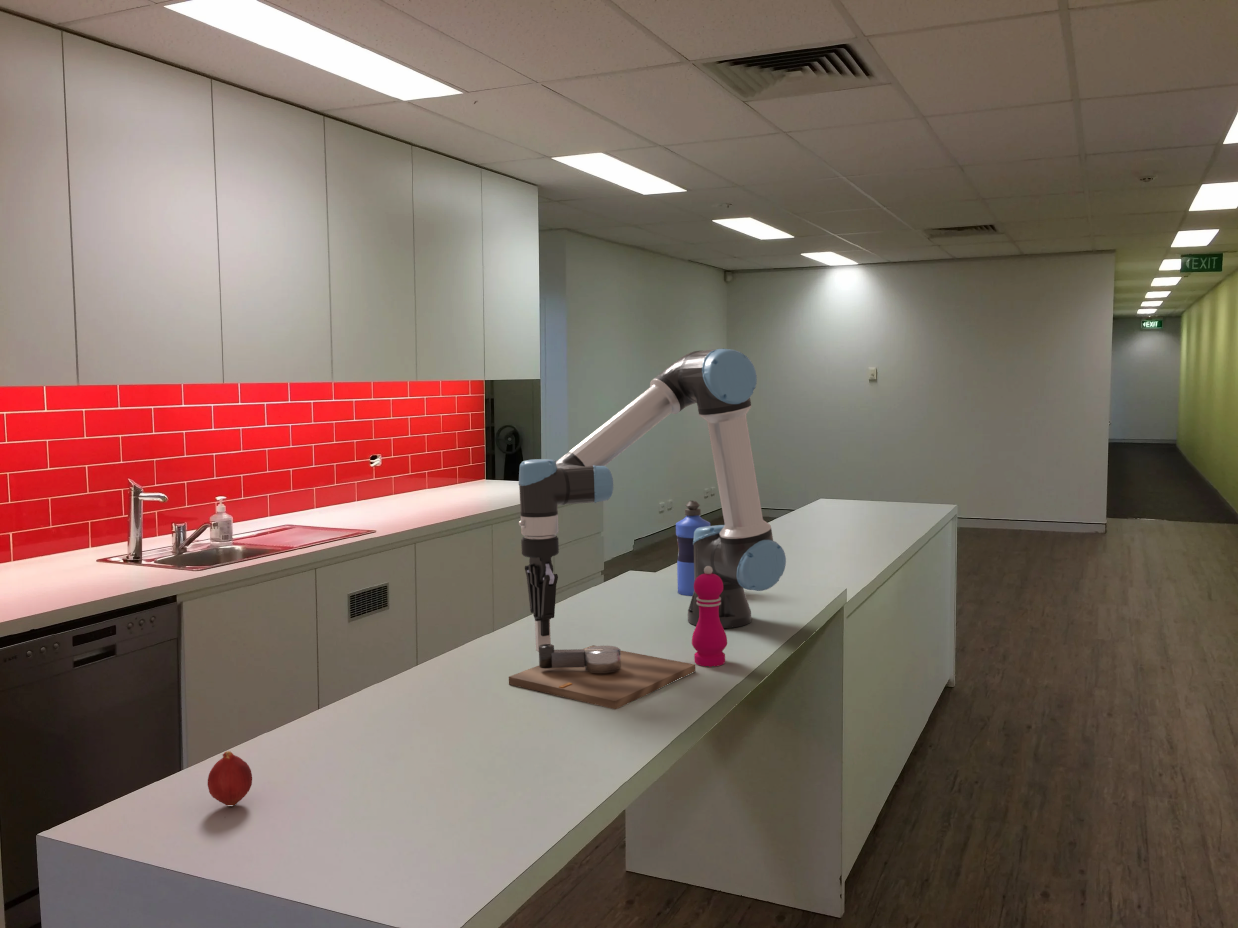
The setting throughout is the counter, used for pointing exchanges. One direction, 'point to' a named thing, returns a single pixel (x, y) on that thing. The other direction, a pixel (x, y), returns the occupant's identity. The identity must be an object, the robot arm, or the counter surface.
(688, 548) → the water bottle
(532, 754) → the counter surface
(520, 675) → the wooden cutting board
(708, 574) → the pepper mill
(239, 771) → the onion
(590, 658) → the dark grey dumbbell shape
